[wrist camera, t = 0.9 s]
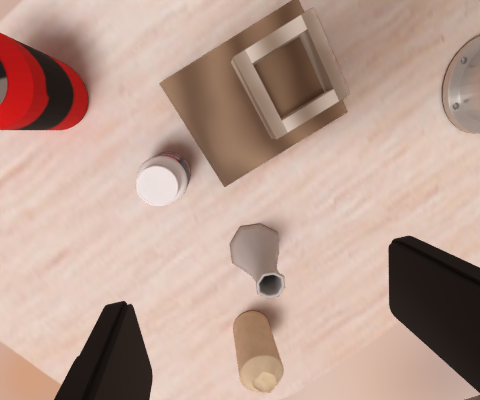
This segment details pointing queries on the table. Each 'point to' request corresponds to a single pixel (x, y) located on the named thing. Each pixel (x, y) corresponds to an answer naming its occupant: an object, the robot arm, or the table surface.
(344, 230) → the table surface
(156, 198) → the pill bottle
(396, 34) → the table surface
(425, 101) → the table surface
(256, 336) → the candle
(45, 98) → the soda can
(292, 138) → the socket board
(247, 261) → the flask
